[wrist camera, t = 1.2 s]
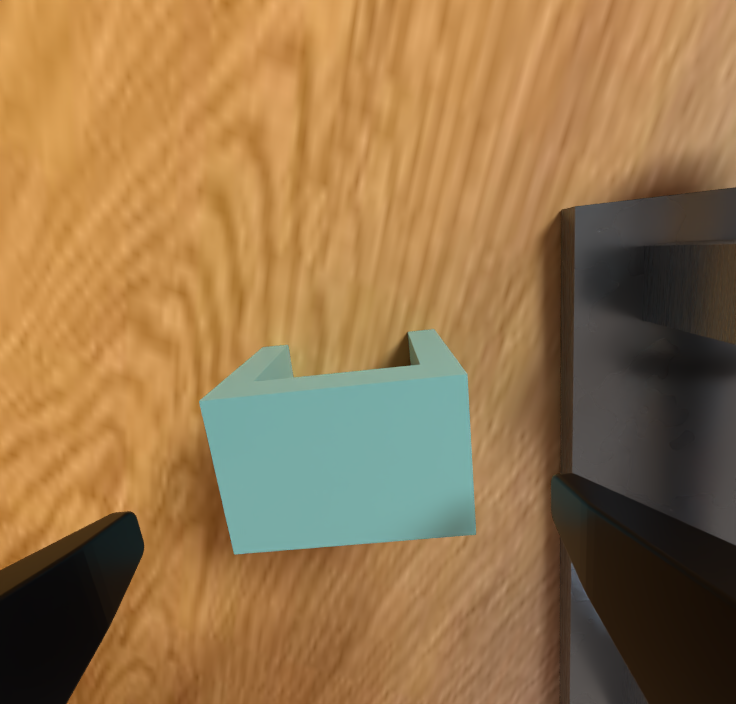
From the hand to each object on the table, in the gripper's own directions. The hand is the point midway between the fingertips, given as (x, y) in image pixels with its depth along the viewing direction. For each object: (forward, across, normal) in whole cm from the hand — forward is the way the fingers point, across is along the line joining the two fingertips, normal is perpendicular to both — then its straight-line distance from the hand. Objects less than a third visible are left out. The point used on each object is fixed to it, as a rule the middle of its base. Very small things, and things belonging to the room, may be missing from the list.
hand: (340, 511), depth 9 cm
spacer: (+8, 0, 0) cm, 8 cm away
